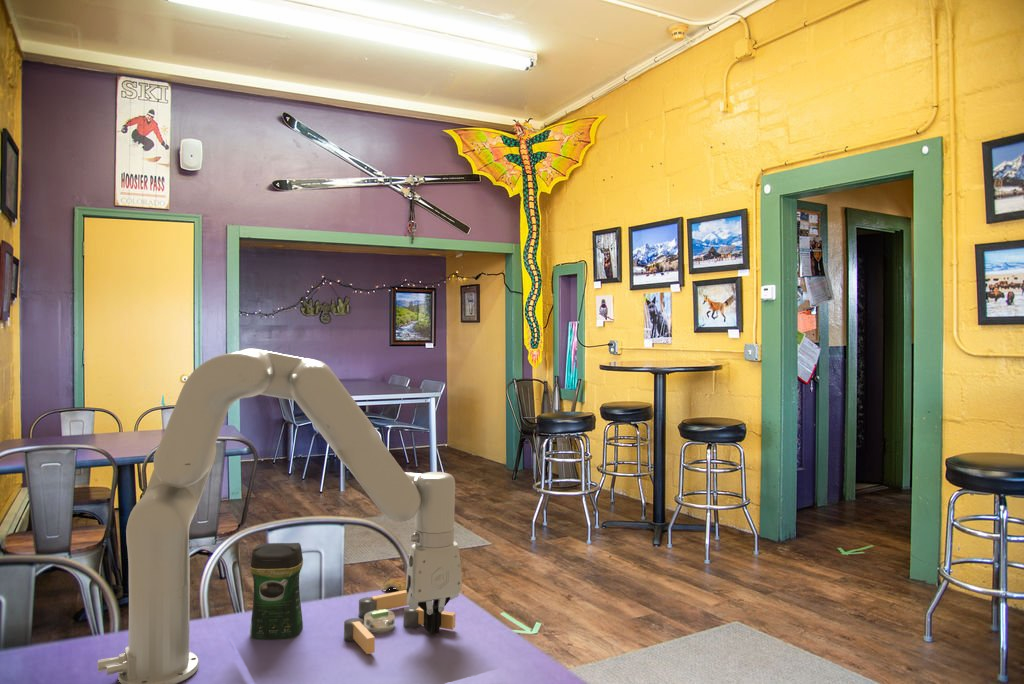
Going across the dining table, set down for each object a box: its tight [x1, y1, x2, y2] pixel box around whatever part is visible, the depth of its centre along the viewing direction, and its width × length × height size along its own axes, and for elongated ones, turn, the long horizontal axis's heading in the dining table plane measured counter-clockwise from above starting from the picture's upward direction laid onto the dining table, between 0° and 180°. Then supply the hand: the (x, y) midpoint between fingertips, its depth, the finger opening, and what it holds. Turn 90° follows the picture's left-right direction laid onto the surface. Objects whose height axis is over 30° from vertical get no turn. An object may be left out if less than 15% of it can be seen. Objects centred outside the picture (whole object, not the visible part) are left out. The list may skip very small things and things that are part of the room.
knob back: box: [358, 590, 409, 619], centre depth 150 cm, size 11×4×3 cm, turn 122°
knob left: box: [343, 617, 376, 655], centre depth 134 cm, size 11×4×3 cm, turn 32°
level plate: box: [363, 609, 396, 634], centre depth 143 cm, size 18×18×4 cm
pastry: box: [380, 576, 407, 593], centre depth 165 cm, size 9×7×4 cm
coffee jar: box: [249, 542, 304, 641], centre depth 140 cm, size 10×8×19 cm
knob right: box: [402, 605, 456, 630], centre depth 143 cm, size 11×4×3 cm, turn 71°
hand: (432, 631), depth 139 cm, fingers closed
